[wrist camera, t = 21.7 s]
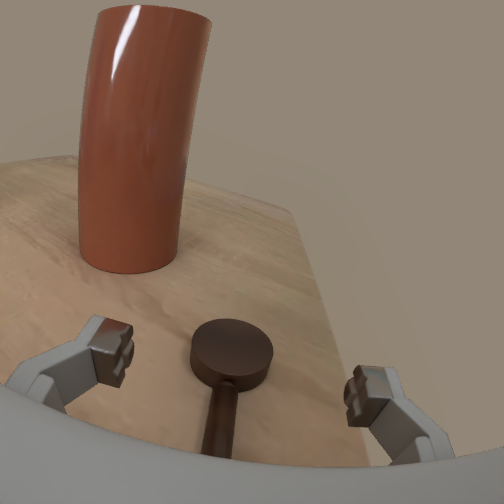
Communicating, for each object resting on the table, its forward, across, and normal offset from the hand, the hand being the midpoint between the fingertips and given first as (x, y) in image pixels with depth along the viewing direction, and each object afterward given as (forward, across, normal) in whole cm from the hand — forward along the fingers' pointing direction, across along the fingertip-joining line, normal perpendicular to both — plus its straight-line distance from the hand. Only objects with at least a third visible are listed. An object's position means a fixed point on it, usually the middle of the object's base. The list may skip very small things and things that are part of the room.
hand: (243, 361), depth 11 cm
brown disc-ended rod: (+1, 0, +9) cm, 9 cm away
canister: (+22, +13, +9) cm, 27 cm away
